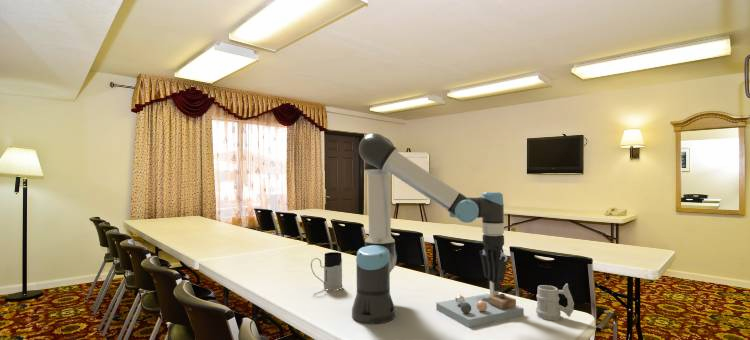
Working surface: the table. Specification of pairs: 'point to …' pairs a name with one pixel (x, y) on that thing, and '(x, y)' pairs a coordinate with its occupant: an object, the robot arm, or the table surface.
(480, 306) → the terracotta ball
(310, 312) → the table surface
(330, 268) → the glass holder
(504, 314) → the board
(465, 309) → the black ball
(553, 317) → the mug
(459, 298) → the steel ball
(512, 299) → the cover
